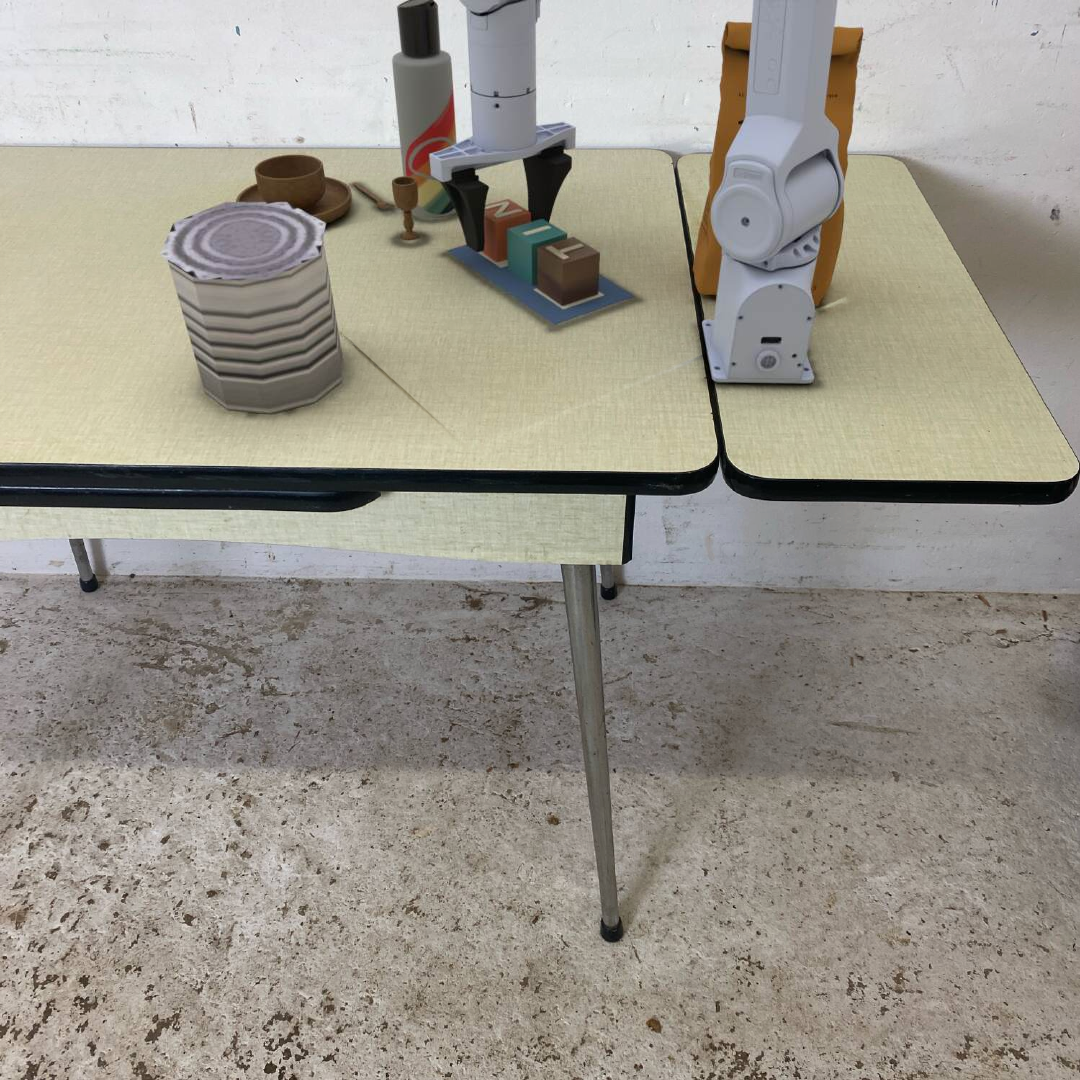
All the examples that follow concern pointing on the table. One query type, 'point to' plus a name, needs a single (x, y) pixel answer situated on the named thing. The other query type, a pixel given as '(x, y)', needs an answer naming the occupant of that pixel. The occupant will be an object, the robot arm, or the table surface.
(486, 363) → the table surface
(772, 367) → the robot arm
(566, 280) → the brown letter t cube
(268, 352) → the can
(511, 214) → the orange letter cube
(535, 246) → the tile
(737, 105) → the coffee package
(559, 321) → the word mat
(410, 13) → the lotion bottle
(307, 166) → the place setting
